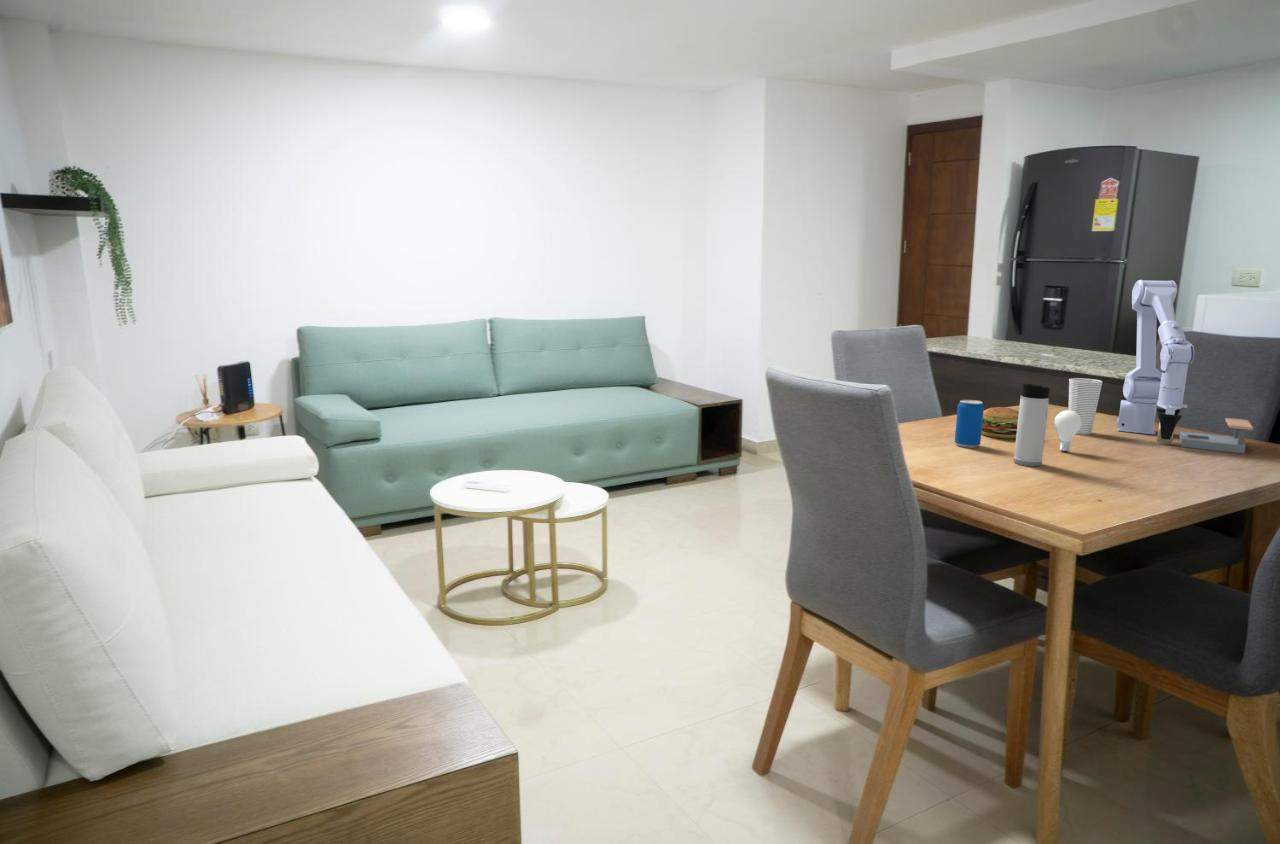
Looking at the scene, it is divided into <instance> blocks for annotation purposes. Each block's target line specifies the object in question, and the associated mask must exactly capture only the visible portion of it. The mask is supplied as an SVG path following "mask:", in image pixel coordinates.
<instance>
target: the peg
mask: <svg viewBox="0 0 1280 844" xmlns="http://www.w3.org/2000/svg"><path fill="white" fill-rule="evenodd" d="M1174 432H1175V430H1174V431H1173V434H1172V437H1171V439H1170V440H1168V439H1161V431H1160V421H1159V424H1158V429H1157V438H1156V445H1157V444H1158V445H1161V446H1162V445H1163V446H1172V445H1173V441H1174V440H1173V439H1174Z"/></svg>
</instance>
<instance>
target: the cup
mask: <svg viewBox="0 0 1280 844" xmlns="http://www.w3.org/2000/svg"><path fill="white" fill-rule="evenodd" d="M1068 380H1069V382H1068V409H1067V410H1071V411H1074V412H1076V413H1077V414H1078V415H1079V416H1080V417H1081V420H1082V424H1081V427H1080V429H1079V430H1078V432H1077V433H1076V434H1075V435H1083V436H1086V435H1088V436H1089V435H1091V434H1092V430H1093V427H1094V426H1093V425H1094V421H1095V418H1096V417H1095V416H1096V412H1097V407H1098V403H1099V399H1100V394H1101V390H1102V386H1103V381H1102V380H1100V379H1094V378H1086V377H1085V378H1084V377H1083V378H1082V377H1073V378H1072V377H1071V378H1069V379H1068Z"/></svg>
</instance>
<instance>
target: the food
mask: <svg viewBox="0 0 1280 844" xmlns="http://www.w3.org/2000/svg"><path fill="white" fill-rule="evenodd" d="M1018 416H1019V410H1016V409H1014V408H1011V407H1004V406H1003V407H1002V406H997V407H996V406H995V407H990V408H987V409H985V410H984V411H983V421H982V432H981V436H982V435H983V436H985V437H988V438H989V437H990V438H995V439H1004V440H1005V439H1006V440H1007V439H1009V440H1014V439H1015V440H1016V434H1017V425H1018Z"/></svg>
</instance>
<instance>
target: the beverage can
mask: <svg viewBox="0 0 1280 844" xmlns="http://www.w3.org/2000/svg"><path fill="white" fill-rule="evenodd" d="M984 409H985V407H984V405H983V402H982V401H981V400H975V399H961V400H960V401H959V403H957V409H956V410H957V411H956V412H957V413H956V422H955V430H954V431H955V433H954V444H956V445H957V446H958V447H961V448H967V449H968V448H970V449H973V448H978V446H980V445H981V439H982V434H981V432H982V421H983V412H984V411H985V410H984Z"/></svg>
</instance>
